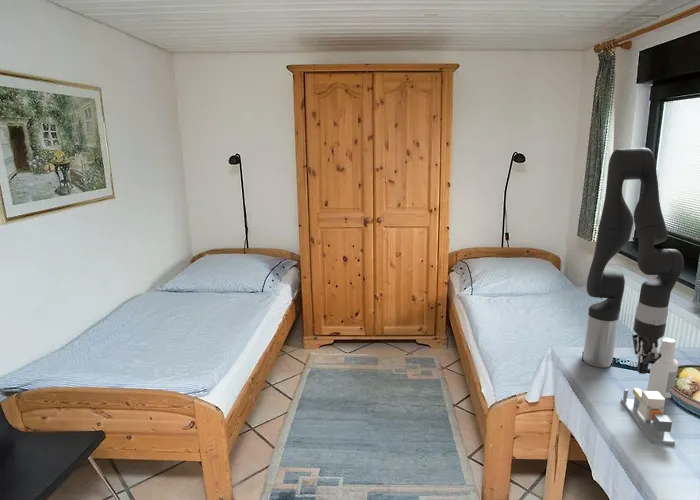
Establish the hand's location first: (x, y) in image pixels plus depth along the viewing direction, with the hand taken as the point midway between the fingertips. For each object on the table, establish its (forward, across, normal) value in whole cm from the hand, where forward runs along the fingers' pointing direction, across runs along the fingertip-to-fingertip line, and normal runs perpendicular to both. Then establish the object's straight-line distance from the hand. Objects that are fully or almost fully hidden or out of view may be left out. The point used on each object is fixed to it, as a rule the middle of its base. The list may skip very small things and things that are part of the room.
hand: (641, 372), depth 141 cm
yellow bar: (+8, +8, 0) cm, 11 cm away
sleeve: (+8, +9, 0) cm, 12 cm away
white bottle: (+12, -9, +11) cm, 19 cm away
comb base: (+12, +7, 0) cm, 14 cm away
